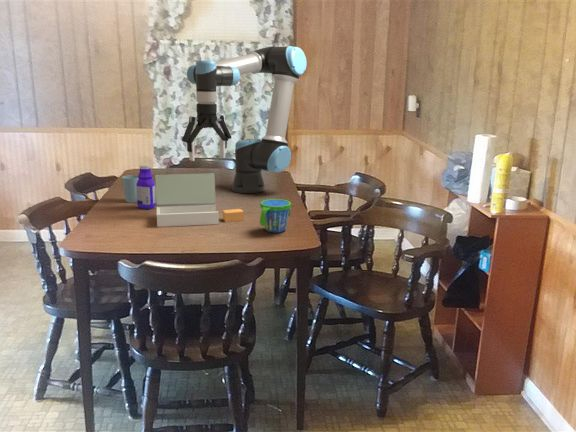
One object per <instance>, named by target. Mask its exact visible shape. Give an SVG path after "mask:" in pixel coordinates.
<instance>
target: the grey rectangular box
mask: <svg viewBox="0 0 576 432" xmlns="http://www.w3.org/2000/svg"><path fill="white" fill-rule="evenodd" d="M216 207H217V204H204V205H179V206H157V205H156V227H157V228H164V227H165V228H166V227H182V226H184V227H186V226H204V225H205V226H207V225H219V224H220V223H219V221H220V220H219V219H220V218H219V217H220V216H219V213H220V212H219V211H218V210H217V209H216ZM216 210H217V211H216Z"/></svg>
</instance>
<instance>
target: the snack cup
mask: <svg viewBox="0 0 576 432" xmlns="http://www.w3.org/2000/svg"><path fill="white" fill-rule="evenodd" d="M259 206H260V208H261V213H260V219H259V225H260V226H261V227H264V230H266V231H267V232H269V233H275V234H276V233H282V232H284V231H286V230H287V226H288V219H289V217H290V216H291V207H292V203H291V201H289V200H286V199H282V198H271V199H270V198H269V199H264V200H262V201H261V202H260V203H259Z"/></svg>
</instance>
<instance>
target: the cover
mask: <svg viewBox="0 0 576 432" xmlns="http://www.w3.org/2000/svg"><path fill="white" fill-rule="evenodd" d="M154 176H155V177H154V182H155V196H156V207H157V206H179V205H204V204H216V201H217V200H216V181H215V180H216V177H215V176H216V175H215V173H214V172H213V173H212V172H210V173H209V172H208V173H179V174H178V173H176V174H175V173H173V174H155V175H154ZM216 205H217V204H216Z"/></svg>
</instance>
